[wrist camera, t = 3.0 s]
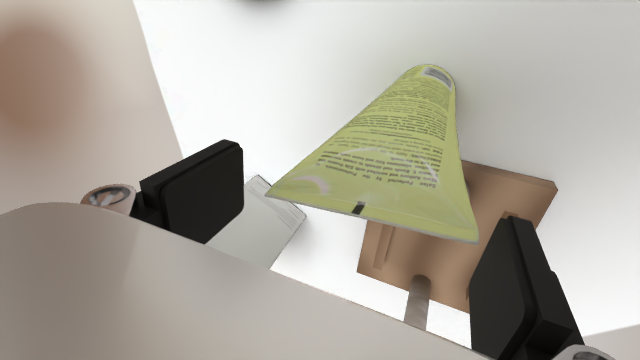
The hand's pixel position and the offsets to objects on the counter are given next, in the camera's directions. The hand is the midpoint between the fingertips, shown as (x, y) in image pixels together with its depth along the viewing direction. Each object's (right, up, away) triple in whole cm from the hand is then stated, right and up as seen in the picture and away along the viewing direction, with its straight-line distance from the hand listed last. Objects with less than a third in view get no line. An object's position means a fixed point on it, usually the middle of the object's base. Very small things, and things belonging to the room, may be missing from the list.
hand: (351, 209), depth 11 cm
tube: (+8, +8, +15) cm, 19 cm away
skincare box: (-7, -2, +28) cm, 29 cm away
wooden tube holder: (+11, -4, +20) cm, 23 cm away
